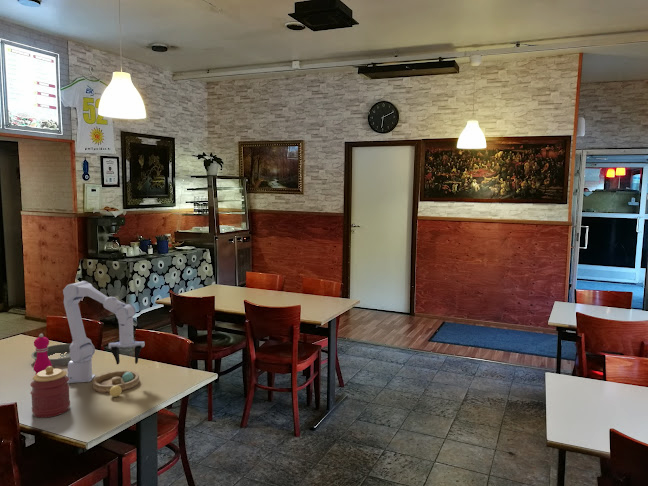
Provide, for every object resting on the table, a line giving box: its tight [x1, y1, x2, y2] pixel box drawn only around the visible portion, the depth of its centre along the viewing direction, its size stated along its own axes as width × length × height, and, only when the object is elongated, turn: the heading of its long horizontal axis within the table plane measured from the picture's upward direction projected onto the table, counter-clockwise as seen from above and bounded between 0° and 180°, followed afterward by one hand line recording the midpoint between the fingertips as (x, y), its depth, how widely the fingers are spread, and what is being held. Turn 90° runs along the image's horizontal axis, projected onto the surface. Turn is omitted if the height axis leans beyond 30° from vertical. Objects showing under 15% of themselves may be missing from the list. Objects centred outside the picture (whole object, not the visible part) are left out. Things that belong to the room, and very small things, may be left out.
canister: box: [30, 366, 71, 418], centre depth 189 cm, size 13×13×18 cm
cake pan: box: [31, 343, 72, 367], centre depth 247 cm, size 25×25×4 cm
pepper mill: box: [33, 333, 53, 375], centre depth 223 cm, size 7×7×20 cm
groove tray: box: [92, 370, 140, 394], centre depth 216 cm, size 18×18×3 cm
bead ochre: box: [109, 385, 123, 398], centre depth 203 cm, size 5×5×5 cm
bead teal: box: [122, 372, 134, 383], centre depth 216 cm, size 5×5×5 cm
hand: (127, 363), depth 216 cm, fingers open, 7 cm apart
